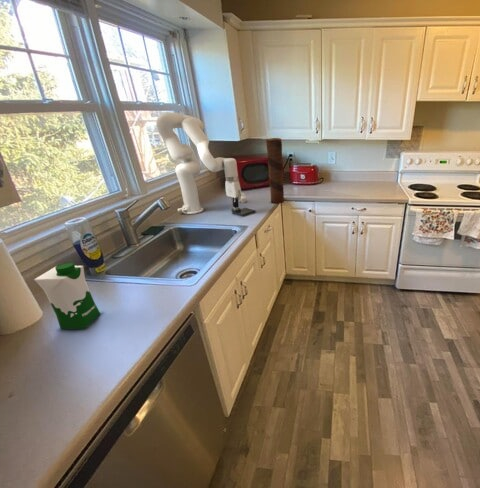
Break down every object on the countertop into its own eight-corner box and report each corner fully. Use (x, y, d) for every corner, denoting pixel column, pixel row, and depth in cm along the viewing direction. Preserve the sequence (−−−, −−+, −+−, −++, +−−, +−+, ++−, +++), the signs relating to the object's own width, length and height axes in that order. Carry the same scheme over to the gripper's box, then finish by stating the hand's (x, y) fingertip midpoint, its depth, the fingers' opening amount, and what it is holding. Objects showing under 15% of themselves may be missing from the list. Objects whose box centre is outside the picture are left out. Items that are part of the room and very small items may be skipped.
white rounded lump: (239, 201, 210) (238, 192, 207) (248, 201, 211) (247, 192, 208) (238, 203, 205) (237, 194, 202) (246, 203, 205) (245, 194, 202)
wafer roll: (281, 204, 204) (277, 139, 185) (268, 203, 207) (263, 138, 188) (287, 200, 213) (284, 137, 194) (274, 199, 216) (270, 137, 197)
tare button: (235, 210, 181) (235, 208, 181) (232, 209, 183) (232, 207, 182) (239, 209, 184) (238, 207, 183) (236, 208, 185) (235, 206, 184)
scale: (241, 217, 178) (241, 212, 177) (230, 213, 184) (229, 209, 182) (255, 212, 187) (255, 207, 186) (244, 209, 193) (243, 204, 191)
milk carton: (86, 330, 84) (60, 273, 76) (54, 331, 83) (25, 274, 75) (105, 312, 92) (84, 258, 83) (76, 312, 91) (52, 258, 83)
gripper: (219, 178, 176) (223, 206, 184) (235, 181, 168) (239, 210, 176) (229, 176, 181) (233, 203, 189) (244, 179, 174) (248, 207, 181)
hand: (236, 207), depth 182 cm, fingers closed
